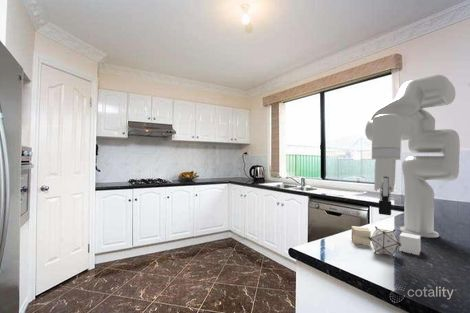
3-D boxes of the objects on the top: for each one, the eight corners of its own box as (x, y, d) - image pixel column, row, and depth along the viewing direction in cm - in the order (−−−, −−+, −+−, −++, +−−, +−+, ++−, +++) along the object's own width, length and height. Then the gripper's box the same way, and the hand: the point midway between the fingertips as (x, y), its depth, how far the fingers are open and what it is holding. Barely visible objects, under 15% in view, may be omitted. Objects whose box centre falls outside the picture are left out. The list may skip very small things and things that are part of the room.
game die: (387, 269, 69) (385, 248, 65) (363, 250, 77) (360, 229, 72) (409, 253, 71) (409, 231, 66) (383, 235, 78) (382, 215, 74)
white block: (401, 247, 79) (401, 232, 79) (420, 251, 75) (420, 235, 76) (399, 251, 75) (399, 235, 75) (419, 255, 72) (419, 239, 72)
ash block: (351, 239, 85) (351, 226, 85) (366, 241, 84) (367, 227, 84) (354, 244, 80) (354, 229, 80) (370, 246, 79) (370, 231, 79)
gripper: (372, 155, 80) (371, 209, 80) (370, 153, 68) (369, 216, 67) (399, 155, 76) (398, 212, 76) (402, 153, 64) (401, 221, 63)
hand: (384, 214), depth 72 cm, fingers closed
